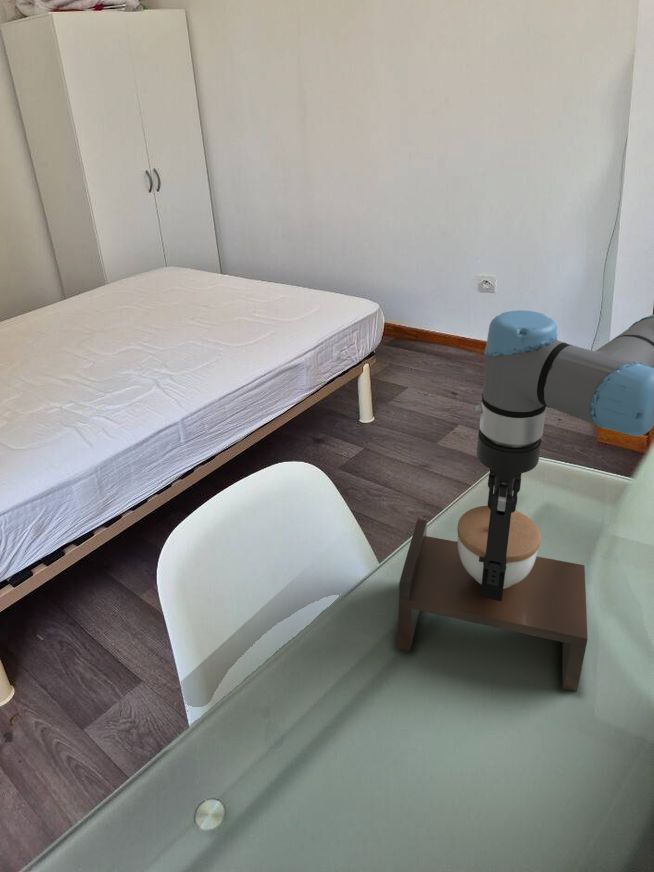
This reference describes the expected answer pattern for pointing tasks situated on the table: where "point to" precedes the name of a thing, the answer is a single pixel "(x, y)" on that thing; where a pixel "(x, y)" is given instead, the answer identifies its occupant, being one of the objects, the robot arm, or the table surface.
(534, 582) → the shelf
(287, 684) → the table surface
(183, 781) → the table surface
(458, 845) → the table surface
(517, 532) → the trinket box
